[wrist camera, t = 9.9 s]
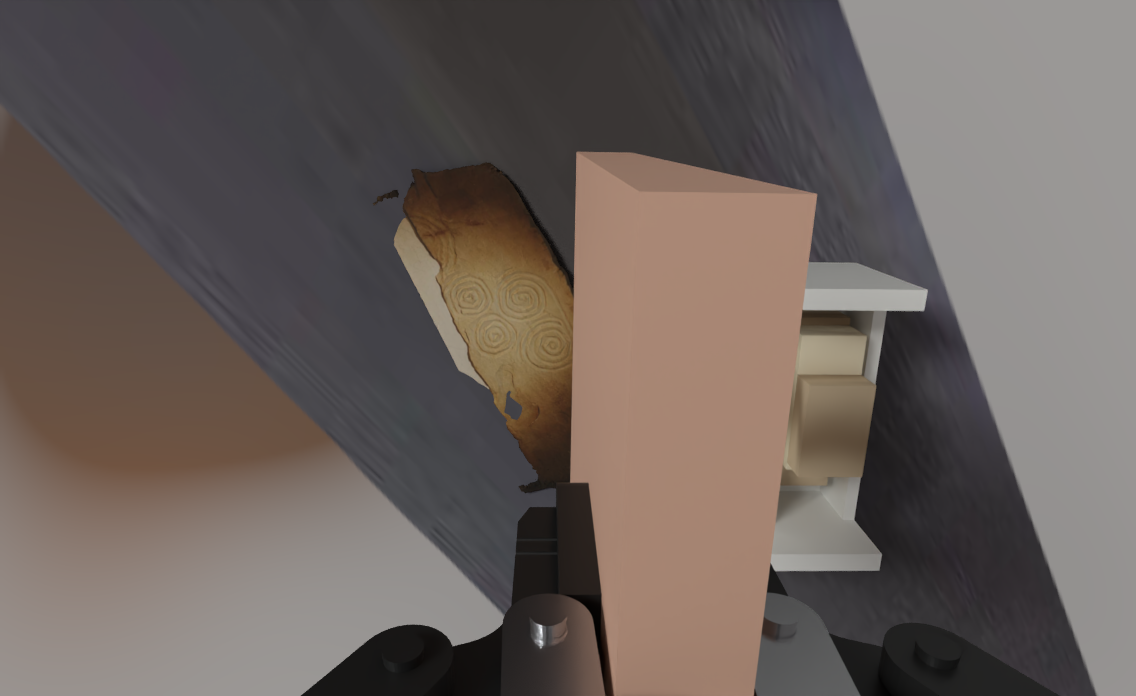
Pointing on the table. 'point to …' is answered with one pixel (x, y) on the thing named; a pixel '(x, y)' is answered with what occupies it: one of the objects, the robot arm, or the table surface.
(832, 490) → the rack
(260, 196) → the table surface
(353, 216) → the table surface
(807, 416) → the offcut small
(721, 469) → the board
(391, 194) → the parchment
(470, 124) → the table surface
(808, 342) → the offcut mid
